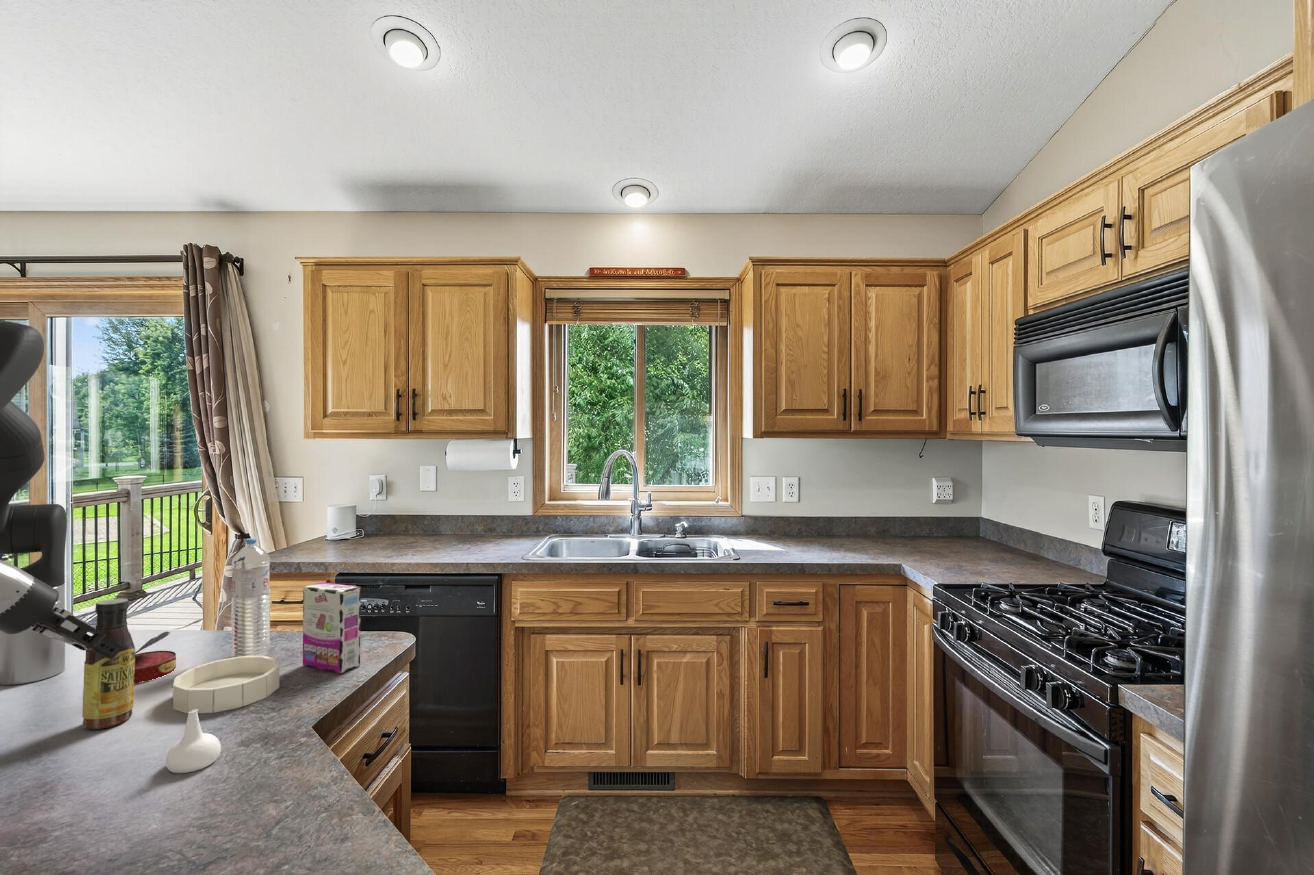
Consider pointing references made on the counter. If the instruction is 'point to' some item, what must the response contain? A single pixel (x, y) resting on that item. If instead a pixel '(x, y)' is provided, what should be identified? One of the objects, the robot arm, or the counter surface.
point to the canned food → (153, 662)
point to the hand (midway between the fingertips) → (102, 649)
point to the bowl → (226, 684)
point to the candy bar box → (331, 627)
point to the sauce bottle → (109, 671)
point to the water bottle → (250, 602)
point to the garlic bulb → (193, 748)
